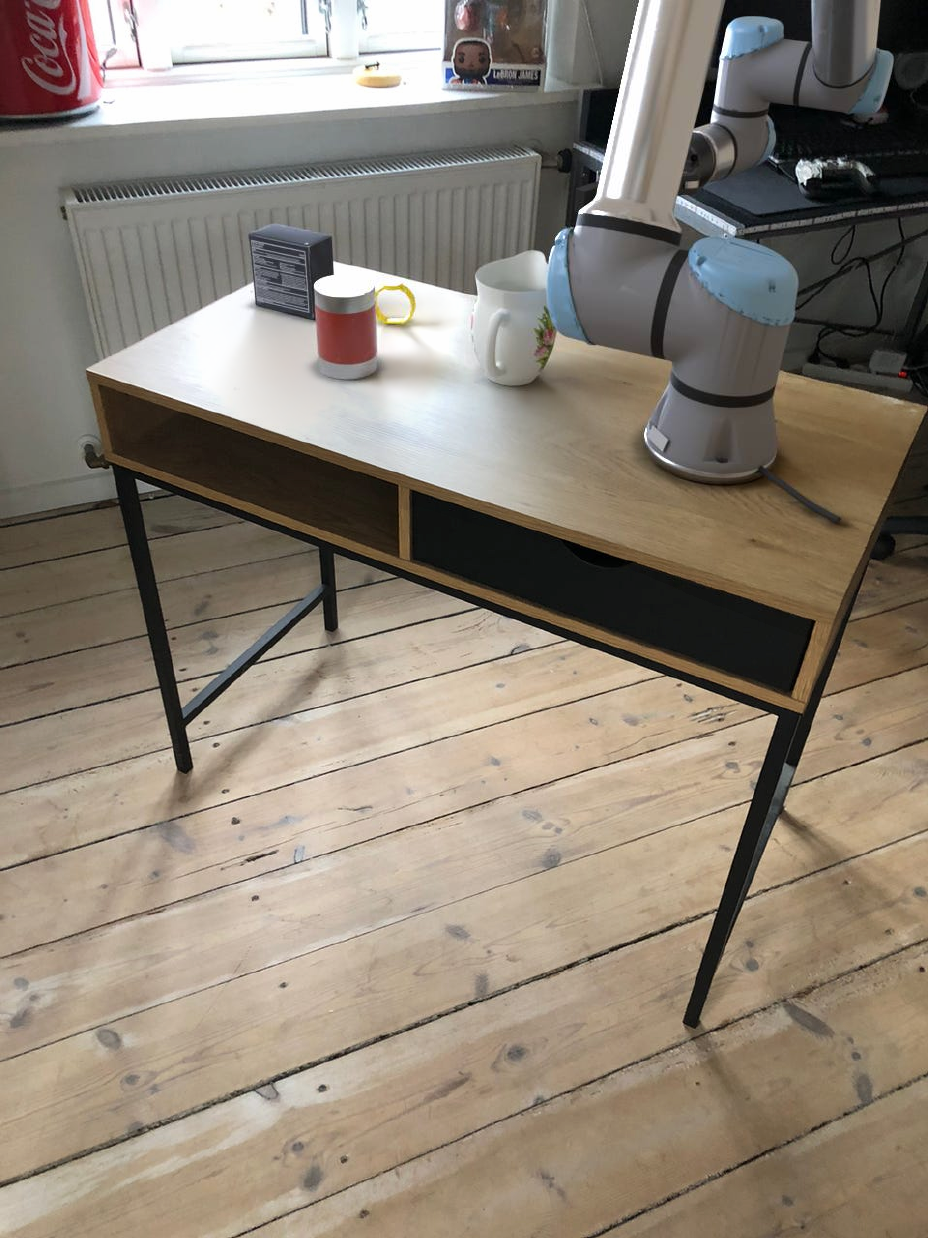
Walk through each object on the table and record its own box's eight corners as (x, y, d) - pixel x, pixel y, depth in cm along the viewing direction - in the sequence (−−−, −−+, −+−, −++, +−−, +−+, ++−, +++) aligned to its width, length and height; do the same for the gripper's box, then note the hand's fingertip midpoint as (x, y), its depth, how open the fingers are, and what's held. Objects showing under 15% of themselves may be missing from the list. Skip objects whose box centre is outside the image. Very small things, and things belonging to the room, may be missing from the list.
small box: (338, 305, 151) (335, 233, 145) (313, 320, 147) (308, 247, 140) (279, 291, 155) (273, 220, 148) (253, 305, 150) (246, 233, 144)
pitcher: (444, 398, 129) (446, 292, 120) (491, 343, 142) (496, 244, 134) (527, 415, 126) (535, 307, 118) (567, 357, 139) (577, 256, 131)
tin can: (389, 368, 135) (387, 286, 128) (343, 385, 131) (339, 302, 124) (352, 349, 140) (349, 269, 133) (307, 365, 135) (301, 283, 129)
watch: (416, 320, 148) (416, 280, 144) (413, 328, 146) (412, 287, 142) (376, 317, 148) (375, 276, 145) (371, 324, 146) (370, 283, 142)
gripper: (728, 200, 139) (617, 245, 126) (651, 177, 146) (539, 218, 133) (738, 141, 134) (623, 182, 121) (658, 120, 141) (542, 157, 128)
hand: (579, 201), depth 127 cm, fingers closed
